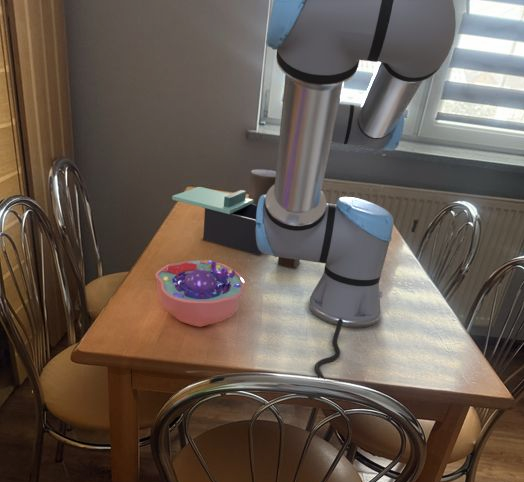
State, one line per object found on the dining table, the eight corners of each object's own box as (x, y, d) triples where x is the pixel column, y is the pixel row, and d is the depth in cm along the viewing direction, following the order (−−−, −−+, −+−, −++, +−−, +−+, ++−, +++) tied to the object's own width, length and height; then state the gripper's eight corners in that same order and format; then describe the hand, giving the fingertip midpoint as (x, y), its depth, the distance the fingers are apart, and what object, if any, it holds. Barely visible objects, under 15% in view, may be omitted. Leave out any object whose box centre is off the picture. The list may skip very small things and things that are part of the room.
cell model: (242, 299, 109) (247, 249, 104) (239, 347, 92) (245, 290, 86) (163, 291, 108) (164, 240, 102) (145, 337, 91) (145, 279, 85)
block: (293, 268, 128) (296, 251, 126) (277, 264, 129) (279, 247, 127) (299, 263, 132) (302, 247, 129) (283, 259, 133) (286, 243, 131)
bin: (258, 255, 133) (262, 222, 129) (203, 239, 138) (204, 207, 134) (277, 241, 144) (282, 210, 140) (226, 227, 149) (228, 197, 145)
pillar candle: (272, 223, 158) (278, 174, 150) (242, 217, 159) (247, 168, 152) (279, 215, 166) (286, 168, 158) (251, 210, 168) (256, 163, 160)
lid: (229, 214, 131) (230, 200, 129) (171, 199, 136) (172, 186, 134) (252, 203, 143) (254, 190, 141) (199, 190, 148) (199, 177, 146)
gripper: (301, 171, 106) (286, 265, 117) (335, 154, 126) (320, 236, 137) (268, 164, 108) (257, 257, 120) (307, 148, 128) (294, 229, 140)
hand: (291, 246), depth 129 cm, fingers open, 13 cm apart
